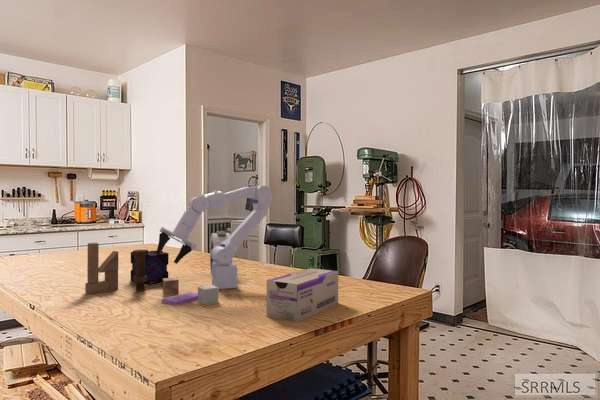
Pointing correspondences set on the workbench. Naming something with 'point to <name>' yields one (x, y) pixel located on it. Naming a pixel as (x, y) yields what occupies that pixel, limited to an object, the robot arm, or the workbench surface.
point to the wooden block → (107, 266)
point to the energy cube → (152, 267)
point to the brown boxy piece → (170, 286)
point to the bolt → (140, 269)
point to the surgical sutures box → (301, 294)
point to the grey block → (208, 294)
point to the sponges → (180, 298)
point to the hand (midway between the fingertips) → (166, 258)
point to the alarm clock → (217, 242)
